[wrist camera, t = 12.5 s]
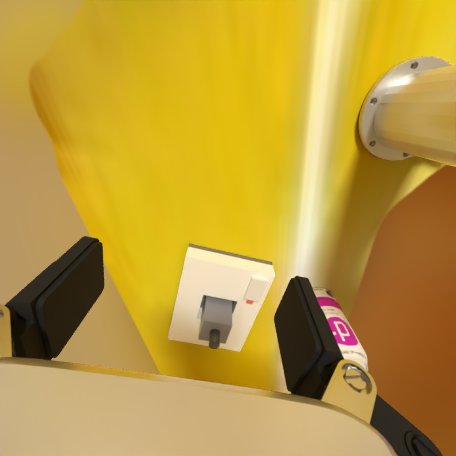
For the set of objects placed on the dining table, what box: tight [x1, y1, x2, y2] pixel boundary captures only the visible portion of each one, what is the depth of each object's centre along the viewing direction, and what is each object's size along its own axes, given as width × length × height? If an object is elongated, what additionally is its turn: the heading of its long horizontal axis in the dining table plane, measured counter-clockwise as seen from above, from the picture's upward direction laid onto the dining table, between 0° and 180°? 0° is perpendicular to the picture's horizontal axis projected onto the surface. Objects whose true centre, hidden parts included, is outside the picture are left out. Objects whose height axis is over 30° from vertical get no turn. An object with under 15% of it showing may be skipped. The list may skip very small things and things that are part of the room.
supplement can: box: [313, 288, 368, 371], centre depth 42 cm, size 8×8×15 cm
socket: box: [168, 244, 275, 352], centre depth 46 cm, size 16×22×5 cm
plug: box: [198, 295, 232, 349], centre depth 43 cm, size 5×5×10 cm
